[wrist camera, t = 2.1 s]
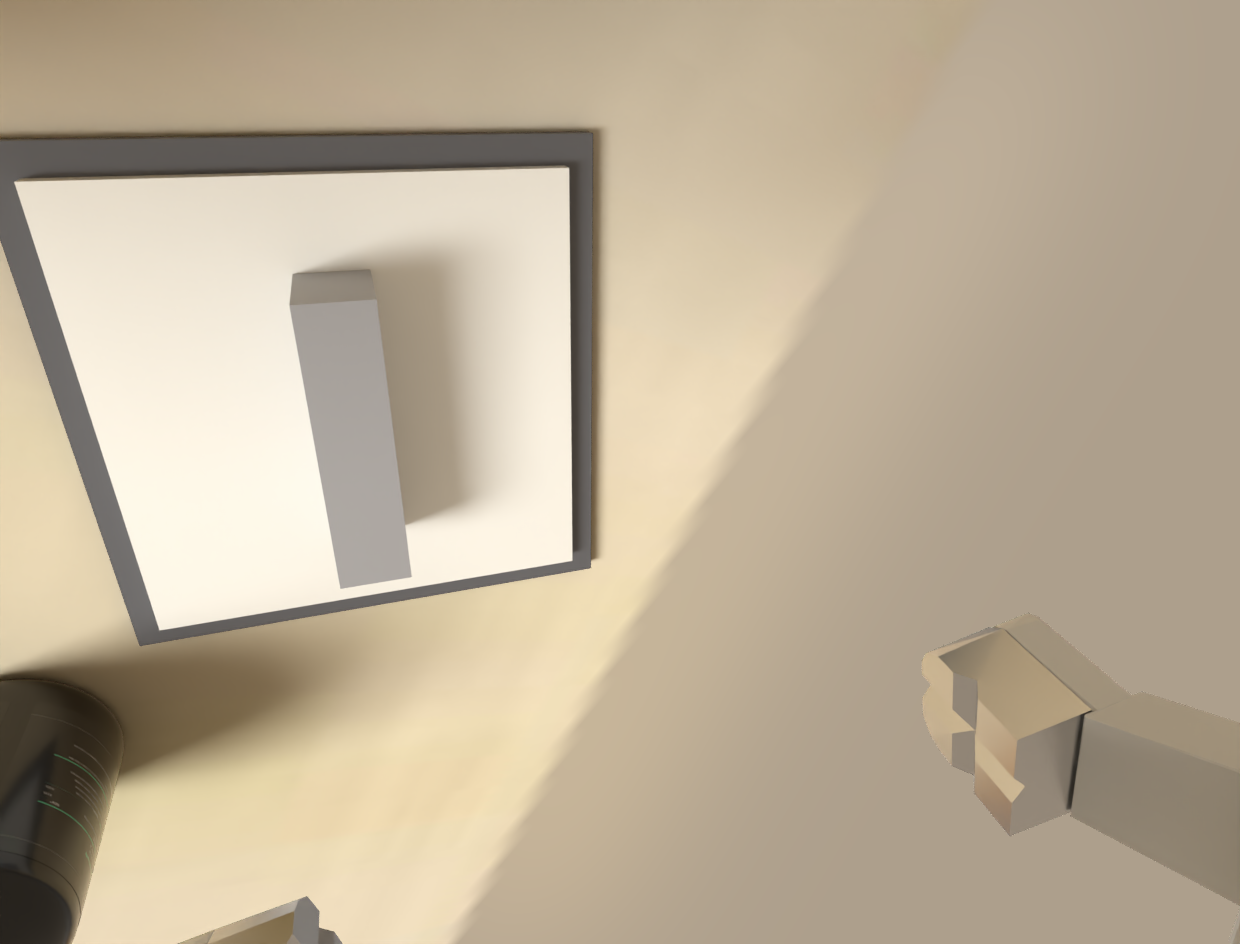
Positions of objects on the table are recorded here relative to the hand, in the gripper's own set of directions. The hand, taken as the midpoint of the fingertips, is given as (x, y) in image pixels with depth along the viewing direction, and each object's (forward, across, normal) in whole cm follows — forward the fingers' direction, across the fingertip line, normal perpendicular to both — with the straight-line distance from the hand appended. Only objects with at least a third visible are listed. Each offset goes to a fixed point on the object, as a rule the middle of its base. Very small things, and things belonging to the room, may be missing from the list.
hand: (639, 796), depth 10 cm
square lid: (+22, +5, +2) cm, 22 cm away
